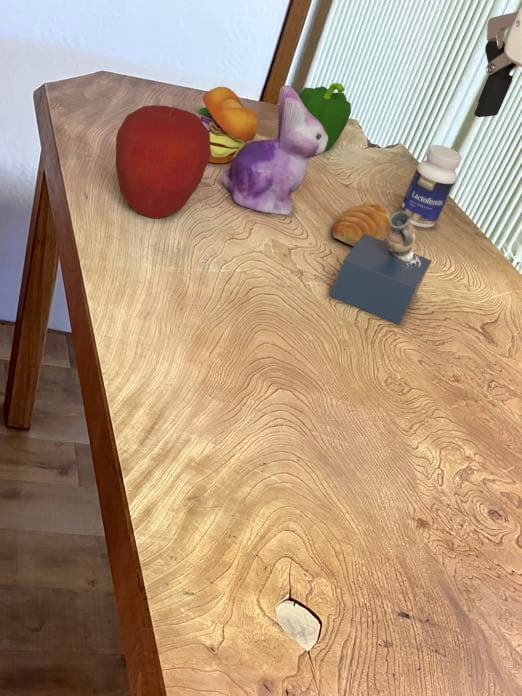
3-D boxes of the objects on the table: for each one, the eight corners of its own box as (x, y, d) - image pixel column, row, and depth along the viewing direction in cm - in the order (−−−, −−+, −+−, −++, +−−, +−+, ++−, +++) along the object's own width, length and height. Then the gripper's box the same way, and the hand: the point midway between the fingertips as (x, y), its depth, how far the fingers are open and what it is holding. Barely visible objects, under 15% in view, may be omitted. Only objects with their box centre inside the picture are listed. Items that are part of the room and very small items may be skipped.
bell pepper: (281, 130, 147) (301, 65, 140) (327, 137, 148) (349, 74, 141) (293, 152, 141) (314, 85, 134) (341, 159, 142) (365, 94, 136)
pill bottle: (398, 222, 129) (427, 154, 122) (395, 206, 133) (424, 139, 126) (436, 232, 129) (468, 164, 122) (433, 216, 133) (463, 149, 126)
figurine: (309, 215, 125) (348, 104, 114) (249, 218, 121) (284, 103, 110) (273, 184, 130) (307, 75, 120) (214, 186, 126) (245, 73, 115)
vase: (387, 272, 105) (408, 225, 101) (359, 249, 108) (378, 202, 104) (420, 269, 108) (442, 222, 103) (392, 246, 111) (412, 200, 106)
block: (349, 269, 115) (364, 233, 112) (415, 296, 114) (432, 260, 110) (329, 296, 109) (344, 258, 106) (398, 324, 107) (416, 287, 104)
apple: (175, 190, 122) (200, 89, 113) (207, 233, 115) (236, 128, 106) (93, 187, 118) (111, 81, 109) (120, 231, 111) (142, 121, 102)
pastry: (359, 256, 119) (370, 229, 116) (317, 234, 121) (327, 208, 118) (391, 239, 124) (402, 213, 122) (350, 218, 127) (360, 192, 124)
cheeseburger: (173, 129, 138) (205, 66, 131) (234, 162, 140) (268, 102, 133) (167, 153, 130) (200, 87, 124) (232, 187, 132) (267, 124, 126)
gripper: (712, -27, 79) (608, 166, 91) (557, -82, 88) (481, 100, 100) (665, -28, 75) (563, 173, 87) (509, -85, 84) (436, 103, 96)
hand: (519, 134), depth 93 cm, fingers open, 9 cm apart
